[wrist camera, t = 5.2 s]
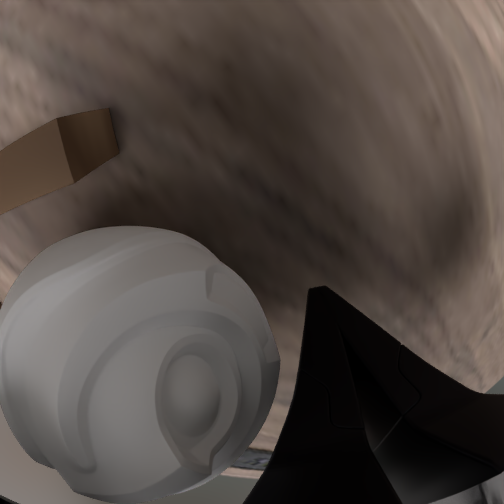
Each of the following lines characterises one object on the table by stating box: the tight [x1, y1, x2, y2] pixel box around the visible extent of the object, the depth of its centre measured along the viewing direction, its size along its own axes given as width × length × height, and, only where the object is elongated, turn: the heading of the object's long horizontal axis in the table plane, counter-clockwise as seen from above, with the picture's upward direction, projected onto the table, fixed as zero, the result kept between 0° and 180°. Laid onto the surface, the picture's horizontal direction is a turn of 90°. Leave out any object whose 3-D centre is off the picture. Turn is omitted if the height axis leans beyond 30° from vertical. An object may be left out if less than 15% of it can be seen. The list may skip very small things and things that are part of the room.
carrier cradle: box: [0, 108, 119, 309], centre depth 8 cm, size 14×16×6 cm
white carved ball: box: [0, 226, 280, 504], centre depth 7 cm, size 8×8×8 cm
